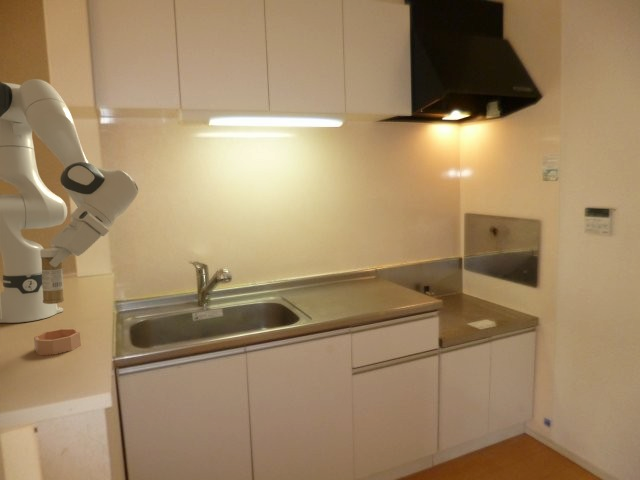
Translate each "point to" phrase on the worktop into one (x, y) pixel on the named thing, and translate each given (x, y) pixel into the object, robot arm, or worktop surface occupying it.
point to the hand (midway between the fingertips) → (48, 264)
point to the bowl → (57, 341)
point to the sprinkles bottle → (51, 277)
